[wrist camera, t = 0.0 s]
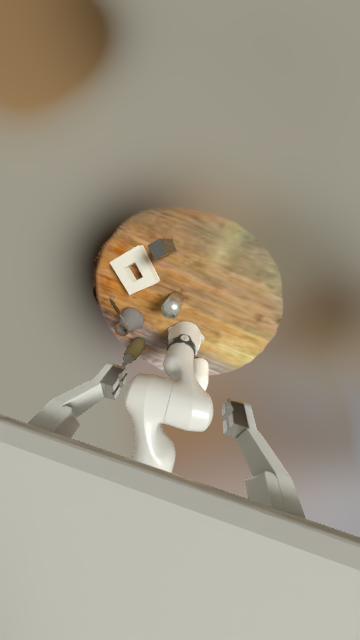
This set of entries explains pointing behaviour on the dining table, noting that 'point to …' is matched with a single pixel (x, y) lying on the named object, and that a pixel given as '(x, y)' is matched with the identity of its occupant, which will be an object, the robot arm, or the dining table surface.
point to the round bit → (172, 305)
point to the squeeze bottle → (133, 350)
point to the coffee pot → (127, 320)
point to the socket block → (144, 265)
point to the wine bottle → (201, 371)
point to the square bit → (161, 248)
